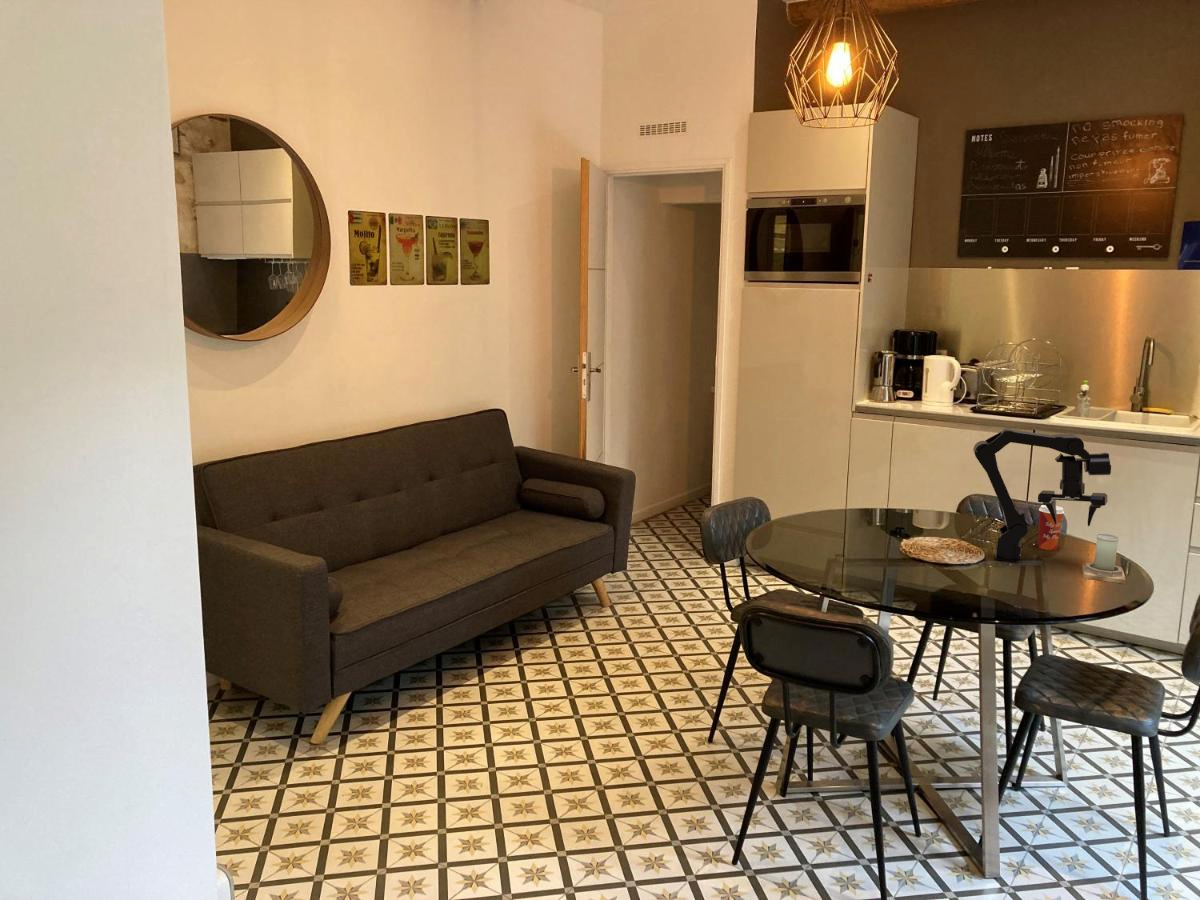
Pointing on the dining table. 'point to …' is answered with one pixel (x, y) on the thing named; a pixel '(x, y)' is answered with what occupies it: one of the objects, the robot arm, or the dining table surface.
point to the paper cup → (1049, 528)
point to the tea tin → (1105, 552)
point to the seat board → (1103, 574)
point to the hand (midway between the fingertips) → (1072, 524)
